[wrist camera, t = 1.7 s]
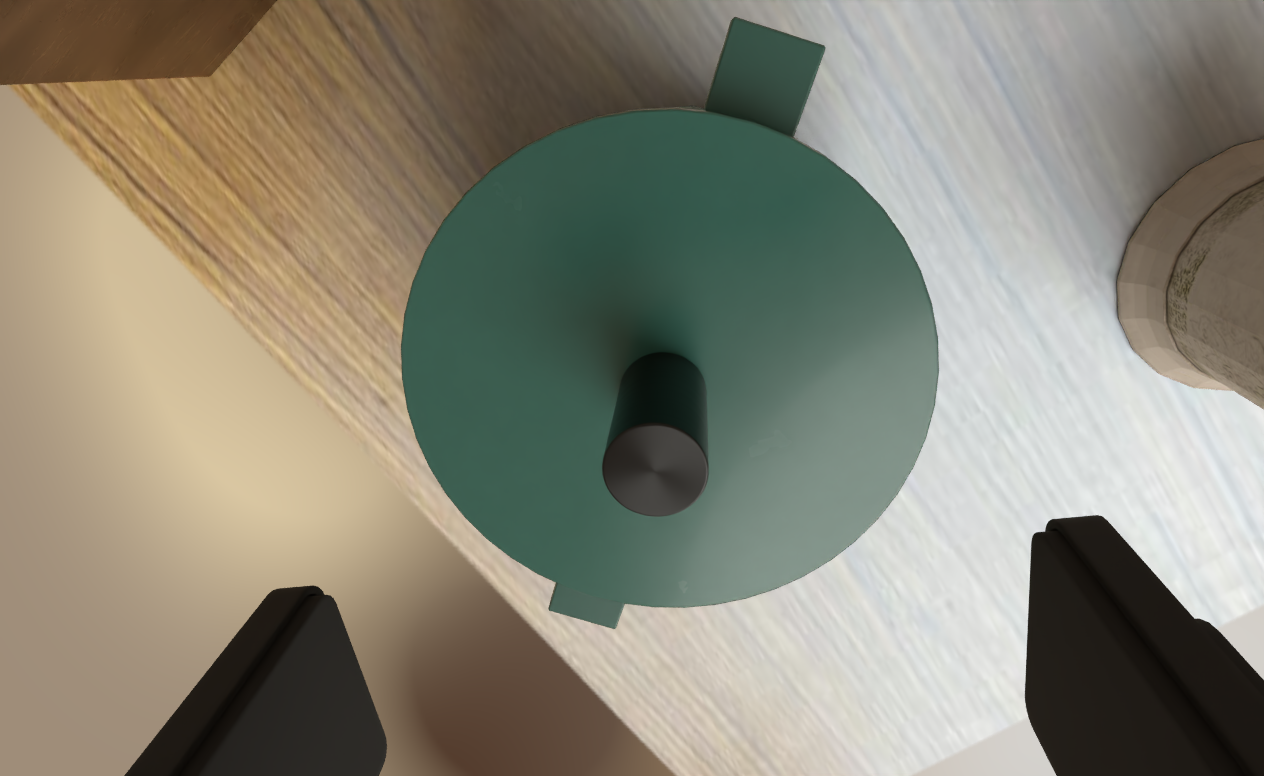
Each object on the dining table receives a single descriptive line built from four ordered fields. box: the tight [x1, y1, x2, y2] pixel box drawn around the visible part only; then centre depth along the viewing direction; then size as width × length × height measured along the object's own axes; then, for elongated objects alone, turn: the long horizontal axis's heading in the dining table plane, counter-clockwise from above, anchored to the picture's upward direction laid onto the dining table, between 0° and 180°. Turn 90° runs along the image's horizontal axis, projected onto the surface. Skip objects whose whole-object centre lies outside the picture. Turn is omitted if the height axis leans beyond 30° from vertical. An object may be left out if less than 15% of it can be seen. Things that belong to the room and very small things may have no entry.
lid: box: [401, 107, 939, 608], centre depth 20 cm, size 15×15×6 cm
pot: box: [549, 17, 825, 629], centre depth 27 cm, size 14×19×10 cm
